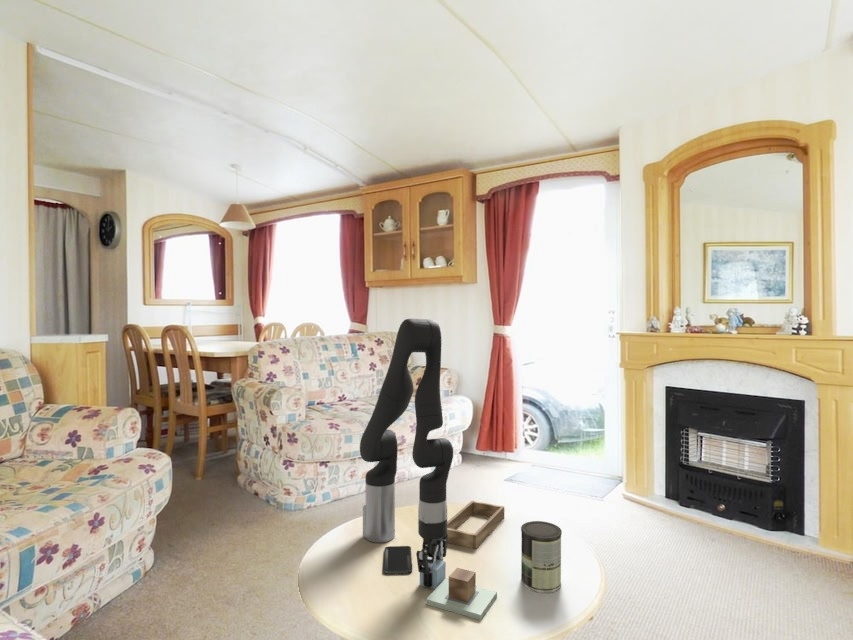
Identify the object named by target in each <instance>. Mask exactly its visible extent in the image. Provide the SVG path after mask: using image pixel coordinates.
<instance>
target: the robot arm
mask: <svg viewBox="0 0 853 640" xmlns="http://www.w3.org/2000/svg"><path fill="white" fill-rule="evenodd" d="M393 347H394V348H393V350H392V355H391V359H390V362H389V365H388V368H387V373H386V375H385V377H384V380H383V382H382V384H381V388H380V391H379V394H378V397H377V401H376V403H375V405H374V406H375V407H374V409H373V412H372V415H371V417H370V419H369V421H368V423H367V426H366V428H365V430H364V432H363V433H362V436H361V439H360V443H359V454H360V457H361V458H362V460H363V461H365V462H366V463H375V462H376V463H377V464H376V465H375V466H374V467H372V468H370V470H368V471H367V472H366V474H365V505H363V506H362V537H363V538H365V539H366V540H367V541H369V542H371V543H386V542H387V543H388V542H389V541H392V540H393V539H395V537H396V534H395V533H396V528H395V527H396V526H395V525H396V522H395V521H396V475H397V468H398V466H397V465H398V450H399V449H398V448H399V446H398V445H399V443H398V439H397V435H396V433H395V432H394V431H393V430H391V429H388V428H389V427H391V426H392V425H393V424H394V423H395V422H396V421H397V420H398V419H399V418H400V417H402V415H403V414H404V413H405V412H406V410H407V409H408V407H409V404H410V402H411V400H412V396H413V394H414V389H415V388H414V387H415V386H414V381H413V379H412V376H411V374H410V371H409V366H408V365H409V359H410V357H411V355H412V354H413V353H424V354H425V368H424V372H423V373H422V374H423V375H422V376H421V378H420V381H419V384H418V385H417V388H416V391H415V394H414V410H415V411H414V412H415V422H416V423H415V425H416V427H415V436H414V441H413V447H412V461H413V462H414V464H415V465H416V467H418V468H420V469H428V468H434V469H433V471H431V472H429V473H427V474H424V475H422V476H421V477H420V478H419V485H418V487H419V489H418V490H419V495H418V496H419V501H418V511H417V512H418V513H417V514H418V516H417V517H418V521H417V525H418V527H417V529H418V535H419V537H421V538H422V545H421V546H422V549H420V550H417V551H416V553H415V554H416V561H417V562H416V563H417V570H418V573H420V572H421V573H423V584H424V586H423V587H426V588H430V587H431V586H432V569H433V564H434V563H435V561H436V559H437V560H441V561H444V558H446V556H447V550H448V542H447V540H448V534H447V522H448V505H447V482H448V479H449V474H450V470H451V467H452V463H453V459H454V447H453V445H452V442H451V441H450V440H449V439H448V438H444V437H442V438H441V437H440V438H439V437H438V438H429V439H428V436H429V433H430V432H431V431H435V430H439V429H440V428H442V426H444V425H443V424H444V420H443V411H442V410H443V409H442V399H441V367H442V365H441V363H442V331H441V327H440V325H439V323H438V322H437V321H436V320H434V319H424V318H406V319H403V321H402V322H401V323H400V326H399V328H398V331H397V334H396V339H395V342H394V346H393ZM428 557H429V558H432V559H428ZM428 563H429V564H430V565H428ZM430 589H431V588H430Z"/></svg>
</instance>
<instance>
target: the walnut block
mask: <svg viewBox="0 0 853 640" xmlns="http://www.w3.org/2000/svg"><path fill="white" fill-rule="evenodd" d="M476 575H477V574H476V571H473V570H469V569H464V568H460V567H456V568H455V569H454V570H453V571H452V572H451V573H450V574H449V576H448V579H449V598H453V599H456V600H460V601H464V602H467V603H468V602H469V600H470V599H471V598H472V596H473V595H474V594H475V593H476V586H477V585H476V582H477V581H476V579H477V578H476V577H477V576H476Z"/></svg>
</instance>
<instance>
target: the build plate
mask: <svg viewBox="0 0 853 640" xmlns="http://www.w3.org/2000/svg"><path fill="white" fill-rule="evenodd" d="M497 597H498V591H497V590H496V591H495V590H493V589H488V588H485V587H481V586H478V585H476V593H475V594H474V595H473V596H472V598H471V599H470V600H469V602H468V603H467V602H464V601H460V600H456V599H453V598H449V578H447V577H446V578H445V579H444V581H443V582H442V583H441V584H440V585H439V586H438V587H437V588H436V589H433V591H432V592H431V594H429V595H428V597H427V598H426V599H425V600H426V601H425V603H426V605H428V606H431V607H435V608H437V609H442V610H444V611H448V612H452V613H455V614H457V615H462V616H465V617H469V618H473V619H476V620H477V621H478V620H479V621H482V619H483V618H484V616H485V615H486V613H487V612H488V610H489V609H490V607H491V606H492V604H493V603H494V602H495V600H496V599H497Z"/></svg>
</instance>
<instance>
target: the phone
mask: <svg viewBox="0 0 853 640" xmlns="http://www.w3.org/2000/svg"><path fill="white" fill-rule="evenodd" d="M383 557H384V558H383V569H382V571H383V574H384V575H388V576H390V575H410V574H412V573H413V562H412V561H413V559H412V558H413V557H412V547H411V546H410V545H396V546H395V545H394V546H393V545H392V546H391V545H390V546H385V547H384V555H383Z"/></svg>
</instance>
